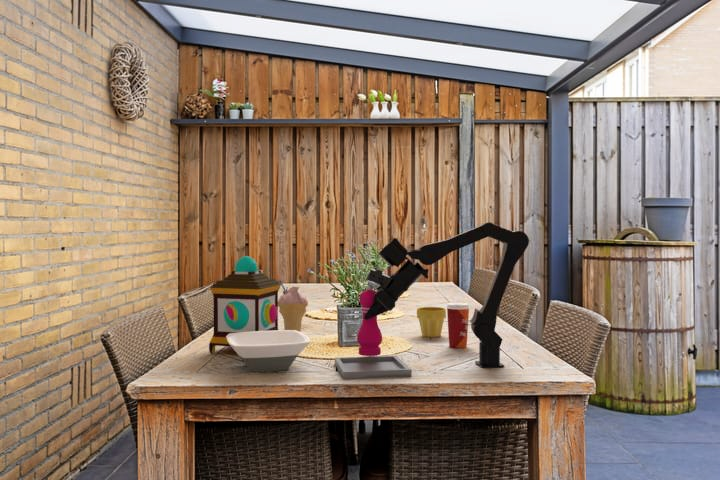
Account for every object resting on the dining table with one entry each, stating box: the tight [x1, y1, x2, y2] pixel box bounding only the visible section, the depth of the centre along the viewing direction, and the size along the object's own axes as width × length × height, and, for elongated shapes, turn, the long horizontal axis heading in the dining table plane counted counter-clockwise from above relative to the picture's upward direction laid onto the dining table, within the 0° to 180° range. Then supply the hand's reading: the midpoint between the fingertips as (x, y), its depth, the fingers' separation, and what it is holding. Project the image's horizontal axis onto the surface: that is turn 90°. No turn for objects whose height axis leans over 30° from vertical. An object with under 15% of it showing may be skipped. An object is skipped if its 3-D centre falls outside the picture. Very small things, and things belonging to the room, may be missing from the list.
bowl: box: [226, 329, 311, 373], centre depth 177 cm, size 22×23×8 cm
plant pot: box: [416, 306, 447, 338], centre depth 227 cm, size 10×10×10 cm
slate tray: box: [334, 355, 413, 380], centre depth 174 cm, size 18×18×2 cm
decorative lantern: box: [208, 255, 282, 355], centre depth 200 cm, size 20×20×30 cm
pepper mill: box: [356, 283, 383, 357], centre depth 181 cm, size 7×7×20 cm
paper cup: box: [445, 302, 471, 349], centre depth 207 cm, size 8×8×14 cm
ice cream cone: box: [278, 280, 309, 332], centre depth 226 cm, size 11×11×20 cm
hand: (365, 317), depth 181 cm, fingers closed on pepper mill, 5 cm apart
